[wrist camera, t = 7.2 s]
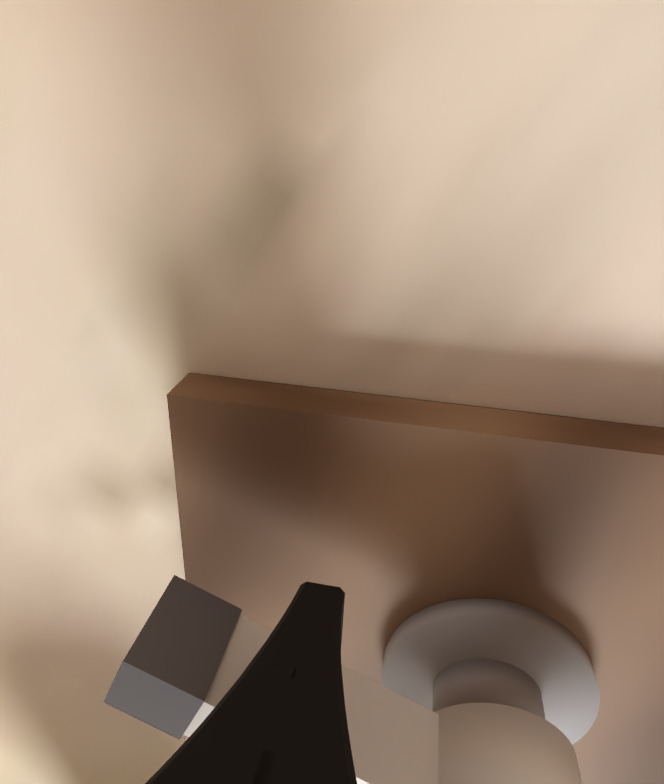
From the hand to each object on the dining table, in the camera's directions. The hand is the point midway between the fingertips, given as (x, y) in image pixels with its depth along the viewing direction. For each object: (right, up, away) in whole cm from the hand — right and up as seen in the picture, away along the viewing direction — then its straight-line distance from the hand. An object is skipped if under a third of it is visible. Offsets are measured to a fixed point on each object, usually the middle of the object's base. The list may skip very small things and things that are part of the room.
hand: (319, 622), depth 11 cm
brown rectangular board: (+4, -2, +5) cm, 7 cm away
